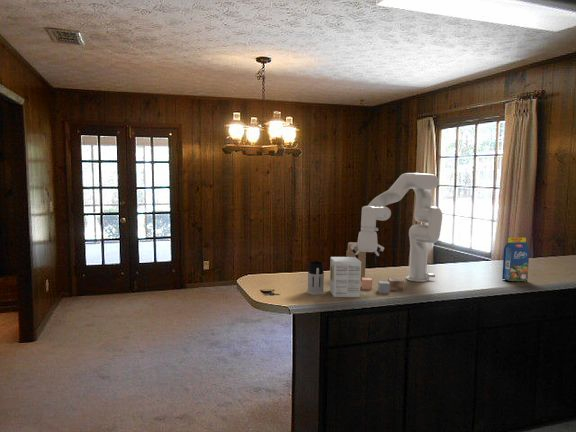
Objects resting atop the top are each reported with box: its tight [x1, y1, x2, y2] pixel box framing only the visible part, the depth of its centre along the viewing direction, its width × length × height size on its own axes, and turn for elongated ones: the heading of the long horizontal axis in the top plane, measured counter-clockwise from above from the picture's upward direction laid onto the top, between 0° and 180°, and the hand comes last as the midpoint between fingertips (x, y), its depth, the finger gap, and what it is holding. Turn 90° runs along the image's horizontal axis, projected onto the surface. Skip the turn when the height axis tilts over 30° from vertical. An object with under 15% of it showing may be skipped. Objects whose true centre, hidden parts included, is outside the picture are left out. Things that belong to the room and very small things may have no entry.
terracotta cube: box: [360, 277, 373, 290], centre depth 234 cm, size 5×5×5 cm
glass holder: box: [306, 260, 325, 296], centre depth 220 cm, size 9×14×15 cm, turn 2°
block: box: [346, 241, 367, 280], centre depth 259 cm, size 10×10×20 cm
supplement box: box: [329, 256, 362, 298], centre depth 221 cm, size 13×13×18 cm
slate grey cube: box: [377, 280, 391, 294], centre depth 227 cm, size 5×5×5 cm
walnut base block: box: [387, 277, 404, 291], centre depth 234 cm, size 7×7×5 cm
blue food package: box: [501, 237, 530, 282], centre depth 257 cm, size 6×12×25 cm, turn 104°
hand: (366, 262), depth 233 cm, fingers open, 9 cm apart
